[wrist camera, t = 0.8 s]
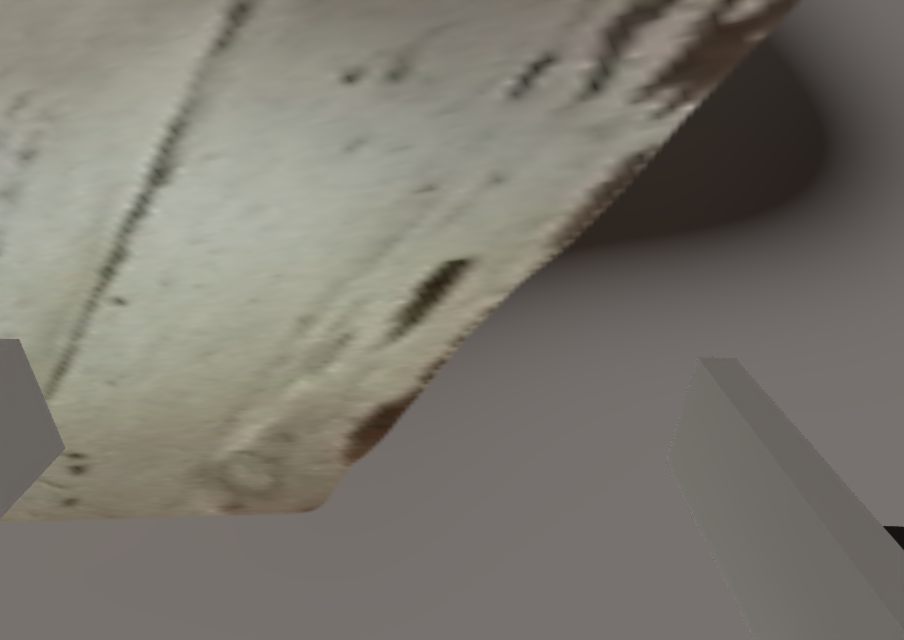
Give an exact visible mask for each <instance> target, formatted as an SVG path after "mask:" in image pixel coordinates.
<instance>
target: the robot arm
mask: <svg viewBox="0 0 904 640" xmlns="http://www.w3.org/2000/svg"><path fill="white" fill-rule="evenodd" d="M64 449H65V446H64V444H63V442H62V439H61V437H60V435H59V432H58V430H57V427H56V425H55V423H54V420H53V418H52V416H51V413H50V411H49V409H48V406H47V404H46V402H45V399H44V397H43V394H42V392H41V390H40V387H39V385H38V383H37V380H36V378H35V376H34V373H33V371H32V368H31V366H30V364H29V361H28V359H27V357H26V354H25V352H24V350H23V347H22V345H21V343H20V340H19V339H0V518H1V517H2V516H3V515H4V514H5V513H6V512H7V511H8V510H9V509H10V508H11V506H12V505H13V504H14V503H15V502H16V501H17V500H18V499H19V498H20V497H21V496H22V495H23V494H24V492H25V491H26V490H27V489H28V488H29V487H30V486H31V485H32V484H33V483H34V482H35V481H36V479H37V478H38V477H39V476H40V475H41V474H42V473H43V472H44V471H45V470H46V469H47V468H48V467H49V465H50V464H51V463H52V462H53V461H54V460H55V459H56V458H57V457H58V456H59V455H60V454H61V452H62V451H63V450H64ZM666 464H667V466H668V468H669V470H670V472H671V474H672V476H673V478H674V480H675V482H676V484H677V486H678V488H679V490H680V492H681V494H682V496H683V498H684V500H685V502H686V504H687V506H688V508H689V510H690V512H691V514H692V516H693V518H694V520H695V522H696V524H697V526H698V528H699V530H700V532H701V534H702V536H703V538H704V540H705V542H706V544H707V546H708V548H709V550H710V552H711V554H712V556H713V558H714V560H715V562H716V564H717V566H718V569H719V571H720V573H721V575H722V577H723V579H724V581H725V583H726V584H727V586H728V589H729V591H730V592H731V595H732V597H733V599H734V601H735V603H736V605H737V607H738V609H739V611H740V613H741V615H742V617H743V619H744V621H745V623H746V625H747V627H748V629H749V631H750V633H751V635H752V637H753V639H754V640H904V527H898V526H882V525H881V524H880V523H879V521H878V520H877V519H876V518H875V517H874V516H873V514H872V513H871V512H870V511H869V510H868V509H867V508H866V506H865V505H864V504H863V503H862V502H861V501H860V500H859V499H858V497H857V496H856V495H855V494H854V493H853V492H852V490H851V489H850V488H849V487H848V486H847V485H846V483H845V482H844V481H843V480H842V479H841V478H840V477H839V476H838V474H837V473H836V472H835V471H834V470H833V469H832V467H831V466H830V465H829V464H828V463H827V462H826V461H825V460H824V458H823V457H822V456H821V455H820V454H819V452H818V451H817V450H816V449H815V448H814V447H813V446H812V444H811V443H810V442H809V441H808V440H807V439H806V438H805V436H804V435H803V434H802V433H801V432H800V431H799V430H798V428H797V427H796V426H795V425H794V424H793V423H792V422H791V421H790V419H789V418H788V417H787V416H786V415H785V413H784V412H783V411H782V410H781V409H780V408H779V407H778V405H777V404H776V403H775V402H774V401H773V400H772V399H771V397H770V396H769V395H768V394H767V393H766V392H765V390H764V389H763V388H762V387H761V386H760V385H759V384H758V383H757V381H756V380H755V379H754V378H753V377H752V376H751V375H750V373H749V372H748V371H747V370H746V369H745V368H744V366H743V365H742V364H741V363H740V362H739V361H738V360H737V358H714V357H698V358H697V360H696V364H695V367H694V370H693V374H692V377H691V380H690V384H689V387H688V390H687V394H686V397H685V400H684V403H683V407H682V410H681V413H680V416H679V420H678V423H677V426H676V430H675V433H674V436H673V439H672V443H671V446H670V449H669V453H668V456H667V459H666Z"/></svg>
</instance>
